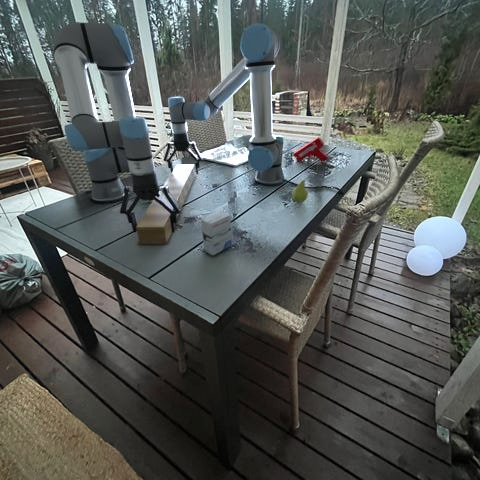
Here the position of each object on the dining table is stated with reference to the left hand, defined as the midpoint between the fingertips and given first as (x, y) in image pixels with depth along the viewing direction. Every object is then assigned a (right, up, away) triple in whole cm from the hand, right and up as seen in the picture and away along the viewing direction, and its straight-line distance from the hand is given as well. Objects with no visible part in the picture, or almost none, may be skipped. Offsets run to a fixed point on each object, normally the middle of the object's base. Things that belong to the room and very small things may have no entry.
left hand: (155, 230), depth 96 cm
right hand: (0, +32, +50) cm, 60 cm away
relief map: (+22, +53, +87) cm, 104 cm away
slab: (0, +14, +27) cm, 30 cm away
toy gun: (+74, +46, +77) cm, 116 cm away
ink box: (+23, -6, -4) cm, 24 cm away
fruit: (+57, +14, +26) cm, 64 cm away
